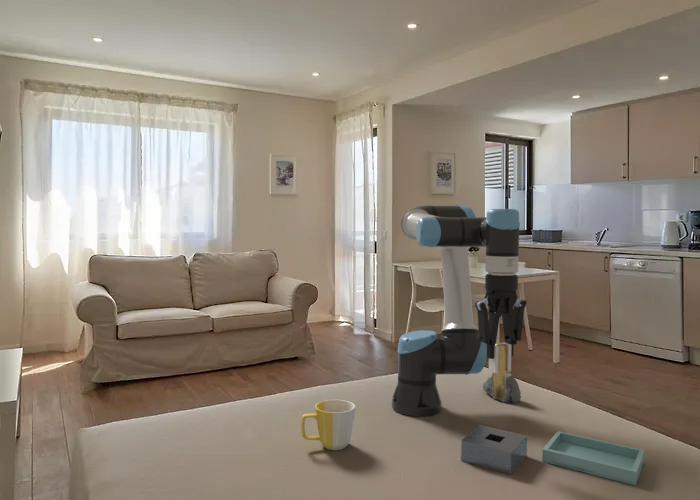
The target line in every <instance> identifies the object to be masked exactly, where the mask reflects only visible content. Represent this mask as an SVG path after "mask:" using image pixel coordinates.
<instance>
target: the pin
mask: <svg viewBox="0 0 700 500" xmlns="http://www.w3.org/2000/svg"><path fill="white" fill-rule="evenodd" d="M496 345H498V346H499V354H498V373H494V372H492V374H493V390H492V396H491V397H492V398H493V400H494V399H495V400H499V401H501V400H503V399H505V387H506V344H504V343H502V342H496Z"/></svg>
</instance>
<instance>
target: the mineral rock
mask: <svg viewBox="0 0 700 500" xmlns="http://www.w3.org/2000/svg"><path fill="white" fill-rule="evenodd" d="M482 389H483V391H484V392H485V393H486V394H489V396H491V397H492V390H493V373H491V376H488V377H487V379H486V381H485V382H484V383H482ZM520 389H521V388H520V386H519V383H518V381H517V379H516V377H514V375H513V374H511V372H508V371H506V387H505V399H503V400H500V401H502V403H506V404H510V403H515V404H516V403H518V402H520V400H521V399H522V396H521V394H522V392H521V390H520Z"/></svg>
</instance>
